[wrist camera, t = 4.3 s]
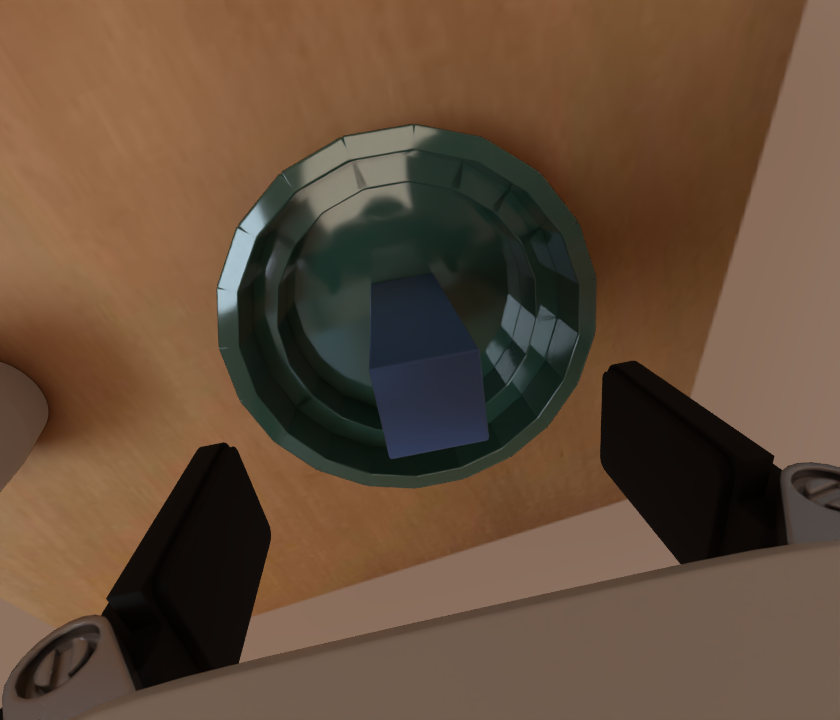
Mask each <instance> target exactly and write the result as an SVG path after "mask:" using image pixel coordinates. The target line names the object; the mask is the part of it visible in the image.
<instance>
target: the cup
mask: <svg viewBox="0 0 840 720" xmlns="http://www.w3.org/2000/svg"><path fill="white" fill-rule="evenodd" d="M47 420H48V405H47V401H46V399H45V397H44V395H43V393H42V391H41V390H40V389H39V387H38V386H37V385H36V384H35V383H34V382H33V381H32V380H31V379H30V378H29V377H28V376H26V375H25V374H24V373H22V372H21V371H19V370H17V369H16V368H14V367H12V366H10V365H8V364H5V363H2V362H0V492H1V491H2V489H3V488H4V487H5V486H6V484H7V483H8V482H9V481H10V480H11V478H12V477H13V476H14V475H15V474H16V472H17V471H18V470H19V469H20V468H21V466H22V465H23V464H24V462H25V461H26V459H27V457H28V455H29V454H30V452H31V450H32V448H33V446H34V445H35V443H36V441H37V439H38V437H39V436H40V434H41V432H42V430H43V428H44V427H45V425H46V423H47Z"/></svg>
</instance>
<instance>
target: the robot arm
mask: <svg viewBox="0 0 840 720" xmlns="http://www.w3.org/2000/svg"><path fill="white" fill-rule="evenodd" d="M600 459H601V463H602V466H603V468H604V470H605V471H606V473H607V474H608V475H609V476H610V477H611V479H612V480H613V481H614V482H615V484H616V485H617V486H618V487H619V489H620V490H621V491H622V492H623V494H624V495H625V496H626V497H627V498H628V500H629V501H630V502H631V503H632V505H633V506H634V507H635V508H636V509H637V511H638V512H639V513H640V515H641V516H642V517H643V518H644V519H645V521H646V522H647V523H648V524H649V526H650V527H651V528H652V529H653V531H654V532H655V533H656V534H657V535H658V537H659V538H660V539H661V541H662V542H663V543H664V544H665V545H666V547H667V548H668V549H669V550H670V552H671V553H672V554H673V555H674V556H675V558H676V559H677V560H678V562H679V563H680V564H681V565H677V566H671V567H667V568H662V569H658V570H653V571H649V572H644V573H639V574H634V575H630V576H625V577H621V578H616V579H611V580H607V581H602V582H597V583H593V584H588V585H584V586H579V587H574V588H570V589H565V590H560V591H556V592H551V593H547V594H542V595H538V596H533V597H529V598H524V599H520V600H515V601H511V602H506V603H502V604H497V605H492V606H488V607H483V608H479V609H474V610H470V611H466V612H461V613H457V614H452V615H448V616H444V617H439V618H434V619H430V620H425V621H421V622H417V623H412V624H407V625H403V626H398V627H394V628H390V629H385V630H381V631H377V632H372V633H368V634H364V635H359V636H355V637H350V638H346V639H342V640H337V641H333V642H328V643H324V644H320V645H315V646H311V647H307V648H302V649H298V650H294V651H289V652H285V653H280V654H276V655H272V656H268V657H263V658H259V659H256V660H251V661H247V662H243V663H239V660H240V656H241V652H242V648H243V645H244V641H245V637H246V633H247V630H248V626H249V622H250V618H251V614H252V610H253V607H254V603H255V599H256V595H257V591H258V587H259V584H260V580H261V576H262V572H263V568H264V564H265V560H266V557H267V553H268V549H269V545H270V541H271V530H270V526H269V524H268V521H267V519H266V516H265V514H264V512H263V509H262V507H261V505H260V502H259V500H258V497H257V495H256V493H255V490H254V488H253V486H252V483H251V481H250V479H249V476H248V474H247V471H246V469H245V467H244V464H243V462H242V460H241V457H240V455H239V452H238V450H237V449H236V448H235V447H229V445H228V444H227V443H219V444H214V445H209V446H204V447H200V448H199V449H198V450H197V451H196V453H195V455H194V456H193V458H192V459H191V461H190V463H189V464H188V466H187V468H186V469H185V471H184V473H183V474H182V476H181V477H180V479H179V481H178V482H177V484H176V486H175V487H174V489H173V490H172V492H171V494H170V495H169V497H168V499H167V500H166V502H165V503H164V505H163V507H162V508H161V510H160V512H159V513H158V515H157V517H156V518H155V520H154V521H153V523H152V525H151V526H150V528H149V530H148V531H147V533H146V534H145V536H144V538H143V539H142V541H141V543H140V544H139V546H138V547H137V549H136V551H135V552H134V554H133V556H132V557H131V559H130V561H129V562H128V564H127V565H126V567H125V569H124V570H123V572H122V574H121V575H120V577H119V578H118V580H117V582H116V583H115V585H114V587H113V588H112V590H111V591H110V593H109V595H108V596H107V598H106V599H107V600H108V602H109V603H108V605H107V606H106V608H105V610H104V611H103V613H102V615H101V616H100V615H89V616H83V617H80V618H78V619H75V620H73V621H70V622H68V623H66V624H64V625H63V626H61V627H59V628H57V629H56V630H54V631H53V632H51V633H50V634H49V635H47V636H46V637H45V638H43V639H42V640H41V641H39V642H38V643H37V644H36V645H35V646H34V647H33V648H32V649H31V650H30V651H29V652H28V653H27V654H26V655H25V656H24V657H23V658H22V659H21V660H20V662H19V663H18V664H17V665H16V667H15V668H14V669H13V671H12V672H11V674H10V676H9V678H8V680H7V682H6V684H5V685H4V690H3V695H2V708H1V709H0V720H840V467H836V466H832V465H828V464H821V463H812V462H810V463H796V464H793V465H790V466H787V467H786V468H785V469H784V470H781V469H780V468H778V467H777V466H775V465H774V464H773V460H774V455H772V454H771V453H769V452H768V451H766V450H765V449H763V448H762V447H761V446H759V445H758V444H756V443H755V442H753V441H752V440H750V439H749V438H747V437H746V436H744V435H743V434H742V433H740V432H739V431H737V430H736V429H734V428H733V427H731V426H730V425H728V424H727V423H725V422H724V421H723V420H721V419H720V418H718V417H717V416H715V415H714V414H713V413H711V412H710V411H708V410H707V409H705V408H704V407H702V406H700V405H699V404H698V403H697V402H695V401H694V400H692V399H691V398H689V397H688V396H686V395H685V394H683V393H682V392H681V391H679V390H678V389H676V388H675V387H673V386H672V385H670V384H669V383H667V382H666V381H665V380H663V379H662V378H660V377H659V376H657V375H656V374H654V373H653V372H651V371H650V370H649V369H647V368H646V367H644V366H643V365H641V364H640V363H638V362H636V361H629V362H624V363H619V364H614V365H611V366H610V367H609V369H608V371H607V372H605V373H604V374H603V378H602V411H601V445H600Z"/></svg>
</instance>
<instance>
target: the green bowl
mask: <svg viewBox="0 0 840 720" xmlns="http://www.w3.org/2000/svg"><path fill="white" fill-rule="evenodd" d="M430 273H433V274H434V276H435V278H436V279H437V281H438V283H439V284H440V286H441V288H442V289H443V291H444V293H445V294H446V296H447V298H448V299H449V301H450V302H451V304H452V306H453V307H454V309H455V311H456V312H457V314H458V316H459V317H460V319H461V321H462V322H463V324H464V326H465V327H466V329H467V331H468V332H469V334H470V335H471V337H472V339H473V340H474V342H475V344H476V345H477V347H478V349H479V350H480V358H481V368H482V377H483V386H484V396H485V405H486V414H487V424H488V433H489V439H488V440H486V441H481V442H476V443H471V444H466V445H461V446H456V447H451V448H446V449H441V450H435V451H430V452H425V453H420V454H415V455H410V456H405V457H400V458H395V459H391V458H390V457H389V454H388V450H387V446H386V441H385V437H384V433H383V429H382V424H381V420H380V416H379V412H378V408H377V403H376V399H375V395H374V391H373V386H372V382H371V378H370V374H369V344H370V286H371V284H375V283H381V282H386V281H392V280H397V279H402V278H408V277H413V276H419V275H424V274H430ZM596 282H597V279H596V274H595V271H594V268H593V265H592V261H591V258H590V255H589V252H588V249H587V246H586V243H585V240H584V236H583V233H582V230H581V227H580V224H579V222H578V221H577V219H576V218H575V216H574V215H573V214H572V212H571V211H570V210H569V209H568V207H567V206H566V205H565V203H564V202H563V201H562V200H561V198H560V197H559V196H558V194H557V193H556V192H555V191H554V189H553V188H552V187H551V185H550V184H549V183H548V182H547V180H546V179H545V178H544V176H543V175H542V174H541V173H539V171H538V170H536V169H535V168H533V167H531V166H530V165H528V164H526V163H525V162H523V161H522V160H520V159H518V158H517V157H515V156H513V155H512V154H510V153H509V152H507V151H505V150H504V149H502V148H500V147H499V146H497V145H496V144H494V143H492V142H491V141H489V140H487V139H486V138H483V137H481V136H476V135H471V134H466V133H460V132H455V131H450V130H445V129H440V128H434V127H429V126H424V125H419V124H414V125H413V124H408V125H403V126H397V127H391V128H385V129H379V130H374V131H368V132H362V133H356V134H350V135H345V136H343V138H342V137H340V138H338V139H336V140H334V141H333V142H331V143H329V144H328V145H326V146H324V147H323V148H321V149H319V150H317V151H316V152H314V153H312V154H311V155H309V156H307V157H305V158H304V159H302V160H300V161H299V162H297V163H295V164H294V165H292V166H290V167H288V168H287V169H285V170H283V171H282V172H281V174H279V175H278V176H277V177H276V178H275V179H274V181H273V182H272V183H271V184H270V186H269V187H268V188H267V189H266V191H265V192H264V193H263V194H262V195H261V197H260V198H259V199H258V200H257V202H256V203H255V204H254V205H253V207H252V208H251V209H250V210H249V212H248V213H247V214H246V215H245V217H244V218H243V219H242V220H241V221H240V223H239V225H238V227H236V230H235V233H234V236H233V239H232V242H231V245H230V248H229V251H228V254H227V257H226V260H225V263H224V266H223V269H222V272H221V275H220V278H219V281H218V284H217V316H218V343H219V350H220V352H221V355H222V357H223V360H224V362H225V365H226V367H227V370H228V373H229V375H230V378H231V380H232V383H233V385H234V388H235V390H236V393H237V395H238V398H239V400H240V402H241V403H242V404H243V405H244V407H245V408H246V409H247V410H248V411H249V413H250V414H251V415H252V416H253V417H254V419H255V420H256V421H257V422H258V423H259V425H260V426H261V427H262V428H263V429H264V431H265V432H266V433H267V434H268V435H269V437H270V438H271V439H272V440H273V441H274V442H275V443H277V444H278V445H280V446H281V447H283V448H284V449H286V450H287V451H289V452H290V453H292V454H293V455H295V456H296V457H298V458H299V459H301V460H302V461H304V462H305V463H307V464H308V465H310V466H312V467H313V468H315V469H316V470H319V471H321V472H325V473H328V474H331V475H334V476H337V477H340V478H343V479H346V480H350V481H353V482H356V483H359V484H362V485H367V486H376V487H396V488H421V487H426V486H431V485H436V484H441V483H446V482H451V481H457V480H462V479H464V478H467V477H470V476H472V475H474V474H476V473H478V472H480V471H482V470H484V469H486V468H489V467H491V466H493V465H495V464H497V463H499V462H501V461H503V460H506V459H508V458H509V457H512V456H513V455H514V454H515V453H516V452H518V451H519V450H520V449H521V448H522V447H524V446H525V445H526V444H527V443H528V442H530V441H531V440H532V439H533V438H534V437H536V436H537V435H538V434H539V433H540V432H542V431H543V430H544V429H545V428H546V427H548V425H549V424H550V423H551V422H552V420H553V419H554V417H555V416H556V414H557V413H558V412H559V410H560V409H561V407H562V406H563V404H564V403H565V402H566V400H567V399H568V397H569V396H570V395H571V393H572V392H573V390H574V389H575V387H576V386H577V385H578V382H579V380H580V377H581V374H582V371H583V368H584V365H585V362H586V359H587V356H588V353H589V350H590V347H591V344H592V341H593V339H594V336H595V330H596Z"/></svg>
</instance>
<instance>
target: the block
mask: <svg viewBox="0 0 840 720" xmlns="http://www.w3.org/2000/svg"><path fill="white" fill-rule="evenodd" d="M369 374H370V378H371V382H372V386H373V391H374V395H375V399H376V403H377V408H378V412H379V416H380V420H381V424H382V429H383V433H384V437H385V441H386V446H387V450H388V454H389V457H390V458H391V459H395V458H400V457H405V456H410V455H415V454H420V453H425V452H430V451H435V450H441V449H446V448H451V447H456V446H461V445H466V444H471V443H476V442H481V441H486V440H488V439H489V433H488V424H487V414H486V405H485V396H484V386H483V377H482V368H481V358H480V350H479V349H478V347H477V345H476V344H475V342H474V340H473V339H472V337H471V335H470V334H469V332H468V331H467V329H466V327H465V326H464V324H463V322H462V321H461V319H460V317H459V316H458V314H457V312H456V311H455V309H454V307H453V306H452V304H451V302H450V301H449V299H448V298H447V296H446V294H445V293H444V291H443V289H442V288H441V286H440V284H439V283H438V281H437V279H436V278H435V276H434V274H433V273H430V274H424V275H419V276H413V277H408V278H402V279H397V280H392V281H386V282H381V283H375V284H371V286H370V344H369Z"/></svg>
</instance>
